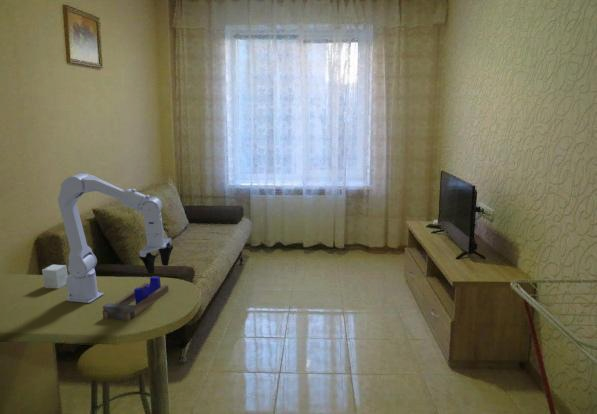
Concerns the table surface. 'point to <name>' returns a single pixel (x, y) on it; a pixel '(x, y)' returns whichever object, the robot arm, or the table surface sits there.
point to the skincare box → (55, 276)
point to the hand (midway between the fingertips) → (158, 269)
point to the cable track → (129, 311)
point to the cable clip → (147, 289)
